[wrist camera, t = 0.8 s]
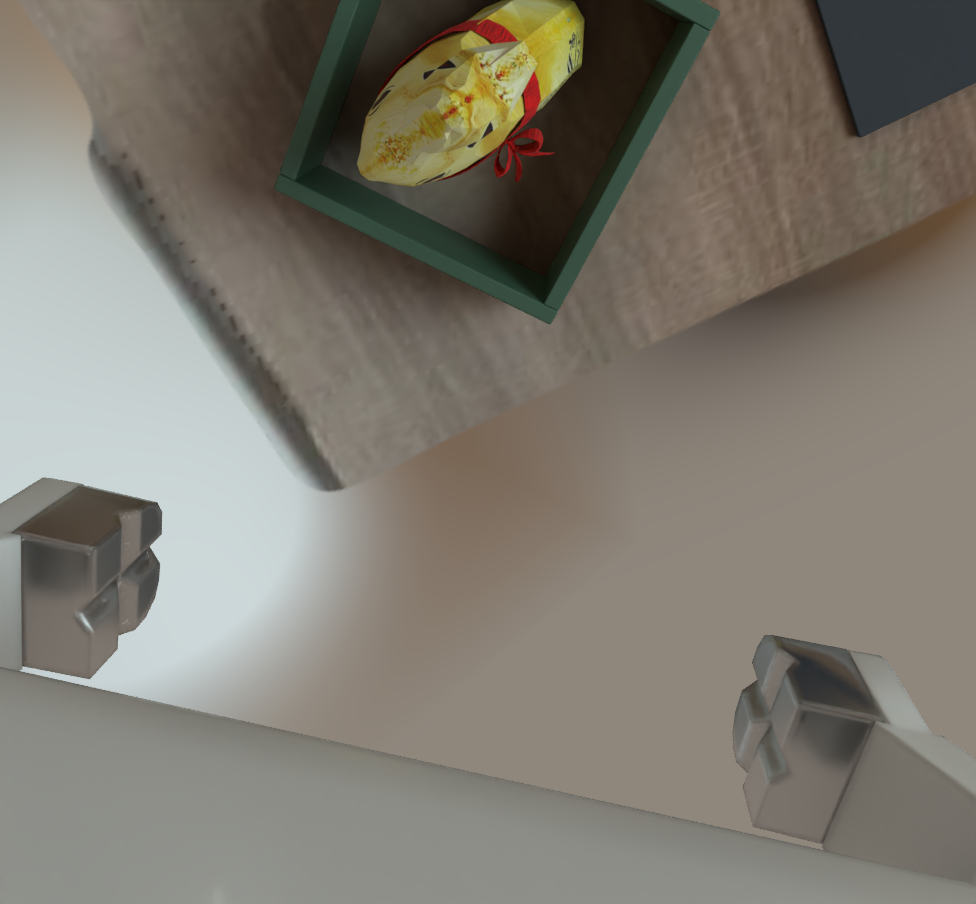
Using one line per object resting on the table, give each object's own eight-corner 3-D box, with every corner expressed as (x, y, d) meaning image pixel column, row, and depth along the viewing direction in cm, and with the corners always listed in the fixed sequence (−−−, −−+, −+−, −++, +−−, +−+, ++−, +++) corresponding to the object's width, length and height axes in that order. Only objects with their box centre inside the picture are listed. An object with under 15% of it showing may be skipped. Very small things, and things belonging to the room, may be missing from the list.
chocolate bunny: (361, 100, 43) (272, 142, 29) (548, -43, 39) (543, -69, 26) (441, 217, 45) (391, 304, 32) (624, 91, 42) (654, 131, 28)
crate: (417, -150, 38) (398, -171, 33) (703, 12, 40) (721, 12, 35) (301, 171, 45) (273, 189, 40) (551, 295, 47) (550, 325, 42)
